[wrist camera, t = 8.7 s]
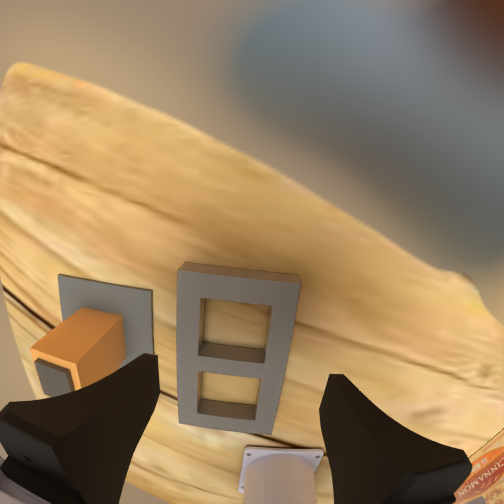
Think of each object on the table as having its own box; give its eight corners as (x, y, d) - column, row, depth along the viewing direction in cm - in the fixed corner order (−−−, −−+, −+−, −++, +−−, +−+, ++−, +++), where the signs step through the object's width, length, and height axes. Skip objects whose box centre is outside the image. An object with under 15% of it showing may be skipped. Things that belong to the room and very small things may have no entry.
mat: (156, 383, 24) (154, 385, 24) (72, 361, 24) (70, 363, 24) (152, 290, 22) (150, 291, 22) (59, 274, 22) (57, 275, 22)
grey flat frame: (271, 419, 24) (271, 434, 22) (183, 408, 24) (178, 423, 22) (297, 274, 21) (300, 284, 19) (185, 262, 21) (177, 270, 19)
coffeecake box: (507, 423, 25) (565, 502, 6) (510, 439, 26) (559, 509, 7) (428, 485, 28) (464, 577, 9) (438, 494, 29) (471, 574, 10)
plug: (126, 356, 23) (84, 415, 15) (87, 347, 23) (40, 397, 15) (122, 315, 22) (72, 368, 14) (82, 306, 22) (25, 351, 14)
